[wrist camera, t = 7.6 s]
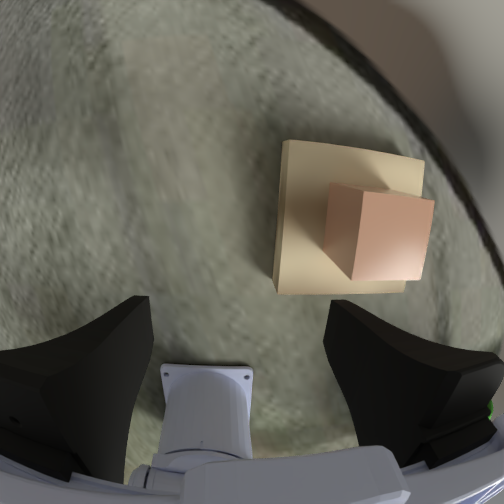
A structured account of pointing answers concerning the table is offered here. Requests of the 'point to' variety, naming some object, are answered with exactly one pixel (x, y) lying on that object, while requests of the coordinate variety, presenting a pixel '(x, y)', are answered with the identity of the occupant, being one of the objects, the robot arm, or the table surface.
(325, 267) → the base
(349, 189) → the block
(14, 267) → the table surface
